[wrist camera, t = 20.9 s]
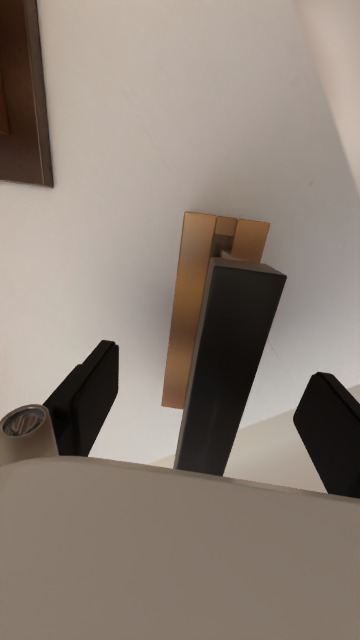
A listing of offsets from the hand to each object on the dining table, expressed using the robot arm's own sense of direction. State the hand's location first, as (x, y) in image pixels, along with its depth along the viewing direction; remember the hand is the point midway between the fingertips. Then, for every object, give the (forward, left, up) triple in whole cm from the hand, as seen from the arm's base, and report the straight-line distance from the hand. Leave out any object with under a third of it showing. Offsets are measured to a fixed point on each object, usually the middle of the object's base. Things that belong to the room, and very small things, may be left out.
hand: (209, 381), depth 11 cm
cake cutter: (0, 0, -8) cm, 8 cm away
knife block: (0, 0, -8) cm, 8 cm away
